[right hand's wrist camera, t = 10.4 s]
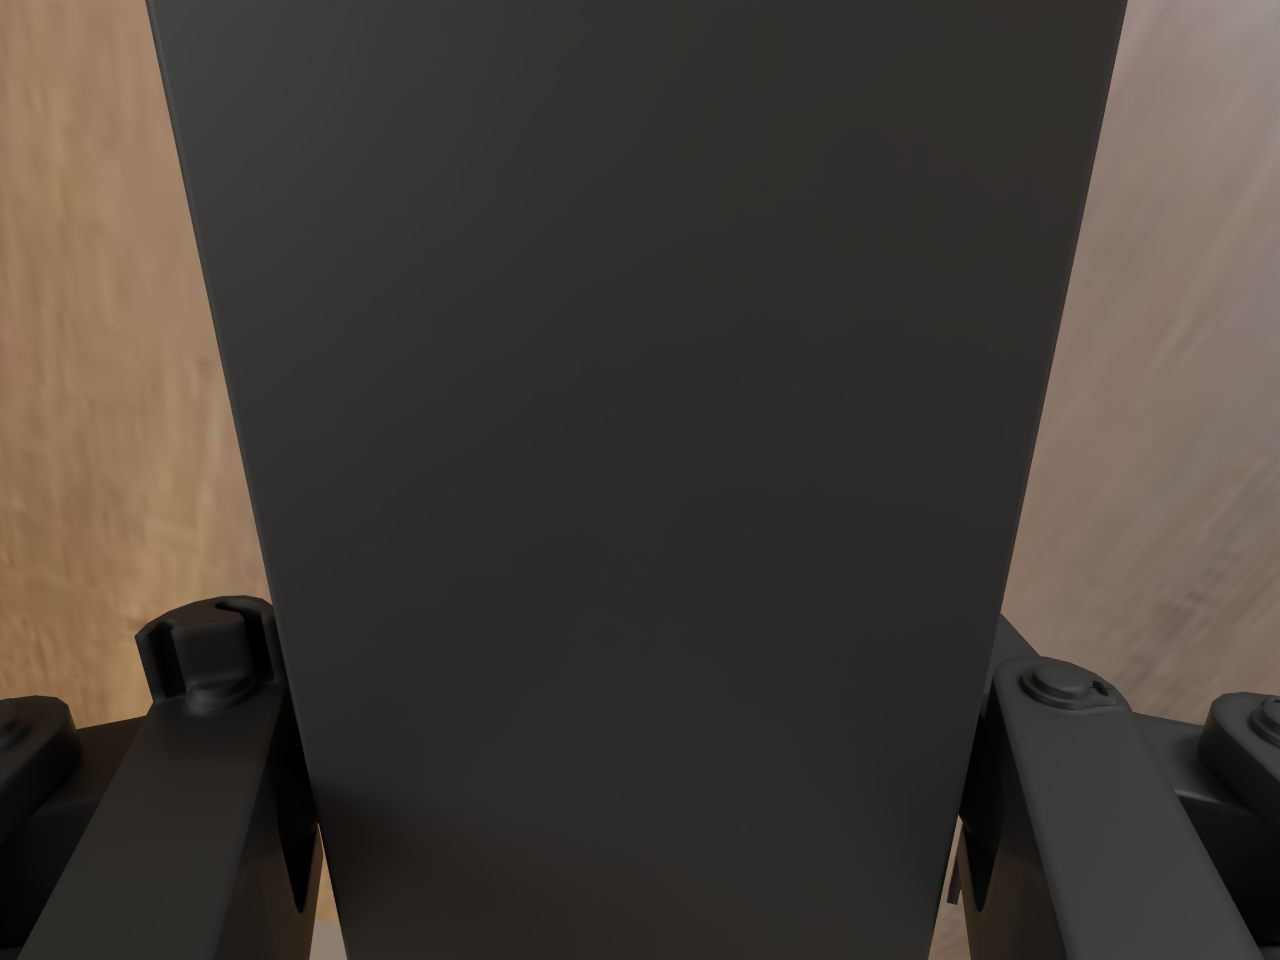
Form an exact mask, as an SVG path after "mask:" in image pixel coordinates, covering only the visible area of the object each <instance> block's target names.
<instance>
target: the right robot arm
mask: <svg viewBox="0 0 1280 960" xmlns="http://www.w3.org/2000/svg"><path fill="white" fill-rule="evenodd" d="M134 637H135V640H136V644H137V647H138V651H139V654H140V657H141V661H142V664H143V668H144V671H145V675H146V678H147V682H148V685H149V689H150V692H151V695H152V699H153V704H152V705H151V707H150V709H149V711H148V713H147V715H146V716H142V717H138V718H133V719H128V720H123V721H118V722H112V723H107V724H102V725H97V726H92V727H87V728H82V729H76V728H75V725H74V722H73V719H72V716H71V713H70V710H69V707H68V705H67V704H66V703H64V702H63V701H61V700H60V699H58V698H57V697H48V696H37V695H35V696H27V697H20V698H13V699H12V698H9V699H4V700H0V960H309V958H310V950H311V943H312V935H313V928H314V921H315V913H316V906H317V898H318V891H319V884H320V876H321V869H322V861H323V850H322V843H321V837H320V832H319V827H318V823H319V822H318V818H317V813H316V808H315V803H314V799H313V794H312V789H311V784H310V780H309V775H308V770H307V765H306V761H305V756H304V751H303V746H302V742H301V737H300V732H299V727H298V723H297V718H296V713H295V708H294V704H293V699H292V694H291V689H290V685H289V680H288V675H287V670H286V666H285V661H284V656H283V651H282V647H281V642H280V637H279V632H278V628H277V623H276V619H275V614H274V609H273V606H272V605H271V604H269V603H268V602H267V601H265V600H264V599H262V598H256V597H251V596H245V595H241V596H221V597H216V598H211V599H206V600H201V601H196V602H193V603H190V604H187V605H185V606H182V607H179V608H176V609H174V610H171V611H168V612H167V613H165V614H163V615H161V616H160V617H158V618H156V619H154V620H152V621H151V622H149V623H148V624H146V625H145V626H144V627H143V628H142V629H141V630H140V631H139V632H138V633H137V634H136V635H135V636H134ZM958 814H959V816H960V818H961V820H962V822H963V823H962V827H961V832H960V837H959V842H958V847H957V852H956V856H955V861H954V866H953V871H952V876H951V881H950V885H949V892H948V899H947V903H951V904H955V905H957V903H958V898H959V893H960V889H962V897H963V904H964V911H965V919H966V926H967V933H968V941H969V948H970V956H971V960H1280V697H1279V696H1275V695H1264V694H1256V693H1249V692H1239V693H1228V694H1223V695H1222V696H1220V697H1219V698H1217V699H1216V700H1214V701H1213V702H1212V705H1211V708H1210V711H1209V714H1208V717H1207V720H1206V723H1205V726H1200V725H1195V724H1190V723H1185V722H1179V721H1174V720H1169V719H1164V718H1159V717H1153V716H1148V715H1143V714H1139V713H1135V712H1132V710H1131V708H1130V706H1129V704H1128V702H1127V701H1126V700H1125V698H1124V697H1123V696H1122V695H1121V694H1120V692H1119V691H1118V690H1117V689H1116V688H1115V687H1114V686H1113V685H1112V684H1110V683H1109V682H1107V681H1106V680H1104V679H1103V678H1101V677H1100V676H1098V675H1097V674H1095V673H1093V672H1091V671H1088V670H1086V669H1084V668H1081V667H1079V666H1077V665H1074V664H1072V663H1069V662H1065V661H1061V660H1057V659H1053V658H1049V657H1042V656H1040V655H1039V654H1038V653H1037V652H1036V651H1035V650H1034V649H1033V648H1032V647H1031V646H1030V645H1029V643H1028V642H1027V641H1026V640H1025V639H1024V638H1023V637H1022V636H1021V635H1020V634H1019V633H1018V631H1017V630H1016V629H1015V628H1014V627H1013V626H1012V625H1011V624H1010V623H1009V622H1008V621H1007V619H1006V618H1005V617H1004V616H1003V615H1002V614H1000V616H999V621H998V626H997V630H996V635H995V640H994V645H993V650H992V654H991V659H990V664H989V669H988V674H987V678H986V683H985V688H984V693H983V698H982V702H981V707H980V712H979V717H978V722H977V726H976V731H975V736H974V741H973V746H972V750H971V755H970V760H969V765H968V770H967V774H966V779H965V784H964V789H963V794H962V798H961V803H960V808H959V813H958Z"/></svg>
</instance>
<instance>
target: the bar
mask: <svg viewBox="0 0 1280 960" xmlns="http://www.w3.org/2000/svg"><path fill="white" fill-rule="evenodd" d="M145 1H146V6H147V11H148V15H149V20H150V25H151V30H152V34H153V39H154V44H155V49H156V53H157V58H158V63H159V68H160V72H161V77H162V82H163V87H164V91H165V96H166V101H167V106H168V110H169V115H170V120H171V124H172V129H173V134H174V139H175V143H176V148H177V153H178V158H179V162H180V167H181V172H182V177H183V181H184V186H185V191H186V196H187V200H188V205H189V210H190V215H191V219H192V224H193V229H194V234H195V238H196V243H197V248H198V253H199V257H200V262H201V267H202V272H203V276H204V281H205V286H206V291H207V295H208V300H209V305H210V310H211V314H212V319H213V324H214V329H215V333H216V338H217V343H218V348H219V352H220V357H221V362H222V367H223V371H224V376H225V381H226V386H227V390H228V395H229V400H230V405H231V409H232V414H233V419H234V424H235V428H236V433H237V438H238V443H239V447H240V452H241V457H242V462H243V466H244V471H245V476H246V481H247V485H248V490H249V495H250V500H251V504H252V509H253V514H254V519H255V523H256V528H257V533H258V538H259V542H260V547H261V552H262V557H263V561H264V566H265V571H266V576H267V580H268V585H269V590H270V594H271V599H272V604H273V609H274V613H275V618H276V623H277V628H278V632H279V637H280V642H281V647H282V651H283V656H284V661H285V666H286V670H287V675H288V680H289V685H290V689H291V694H292V699H293V704H294V708H295V713H296V718H297V723H298V727H299V732H300V737H301V742H302V746H303V751H304V756H305V761H306V765H307V770H308V775H309V780H310V784H311V789H312V794H313V799H314V803H315V808H316V813H317V818H318V822H319V827H320V832H321V837H322V841H323V846H324V851H325V856H326V860H327V865H328V870H329V875H330V879H331V884H332V889H333V894H334V898H335V903H336V908H337V913H338V917H339V922H340V927H341V932H342V936H343V941H344V946H345V950H346V955H347V960H928V957H929V952H930V947H931V942H932V938H933V933H934V928H935V923H936V918H937V914H938V909H939V904H940V899H941V894H942V890H943V885H944V880H945V875H946V870H947V866H948V861H949V856H950V851H951V846H952V842H953V837H954V832H955V827H956V822H957V818H958V813H959V808H960V803H961V798H962V794H963V789H964V784H965V779H966V774H967V770H968V765H969V760H970V755H971V750H972V746H973V741H974V736H975V731H976V726H977V722H978V717H979V712H980V707H981V702H982V698H983V693H984V688H985V683H986V678H987V674H988V669H989V664H990V659H991V654H992V650H993V645H994V640H995V635H996V630H997V626H998V621H999V616H1000V611H1001V606H1002V602H1003V597H1004V592H1005V587H1006V582H1007V578H1008V573H1009V568H1010V563H1011V558H1012V554H1013V549H1014V544H1015V539H1016V534H1017V530H1018V525H1019V520H1020V515H1021V510H1022V506H1023V501H1024V496H1025V491H1026V486H1027V482H1028V477H1029V472H1030V467H1031V462H1032V458H1033V453H1034V448H1035V443H1036V438H1037V434H1038V429H1039V424H1040V419H1041V414H1042V410H1043V405H1044V400H1045V395H1046V390H1047V386H1048V381H1049V376H1050V371H1051V366H1052V362H1053V357H1054V352H1055V347H1056V342H1057V338H1058V333H1059V328H1060V323H1061V318H1062V314H1063V309H1064V304H1065V299H1066V294H1067V289H1068V285H1069V280H1070V275H1071V270H1072V265H1073V261H1074V256H1075V251H1076V246H1077V241H1078V237H1079V232H1080V227H1081V222H1082V217H1083V213H1084V208H1085V203H1086V198H1087V193H1088V189H1089V184H1090V179H1091V174H1092V169H1093V165H1094V160H1095V155H1096V150H1097V145H1098V141H1099V136H1100V131H1101V126H1102V121H1103V117H1104V112H1105V107H1106V102H1107V97H1108V93H1109V88H1110V83H1111V78H1112V73H1113V69H1114V64H1115V59H1116V54H1117V49H1118V45H1119V40H1120V35H1121V30H1122V25H1123V21H1124V16H1125V11H1126V6H1127V1H1128V0H145Z"/></svg>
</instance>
